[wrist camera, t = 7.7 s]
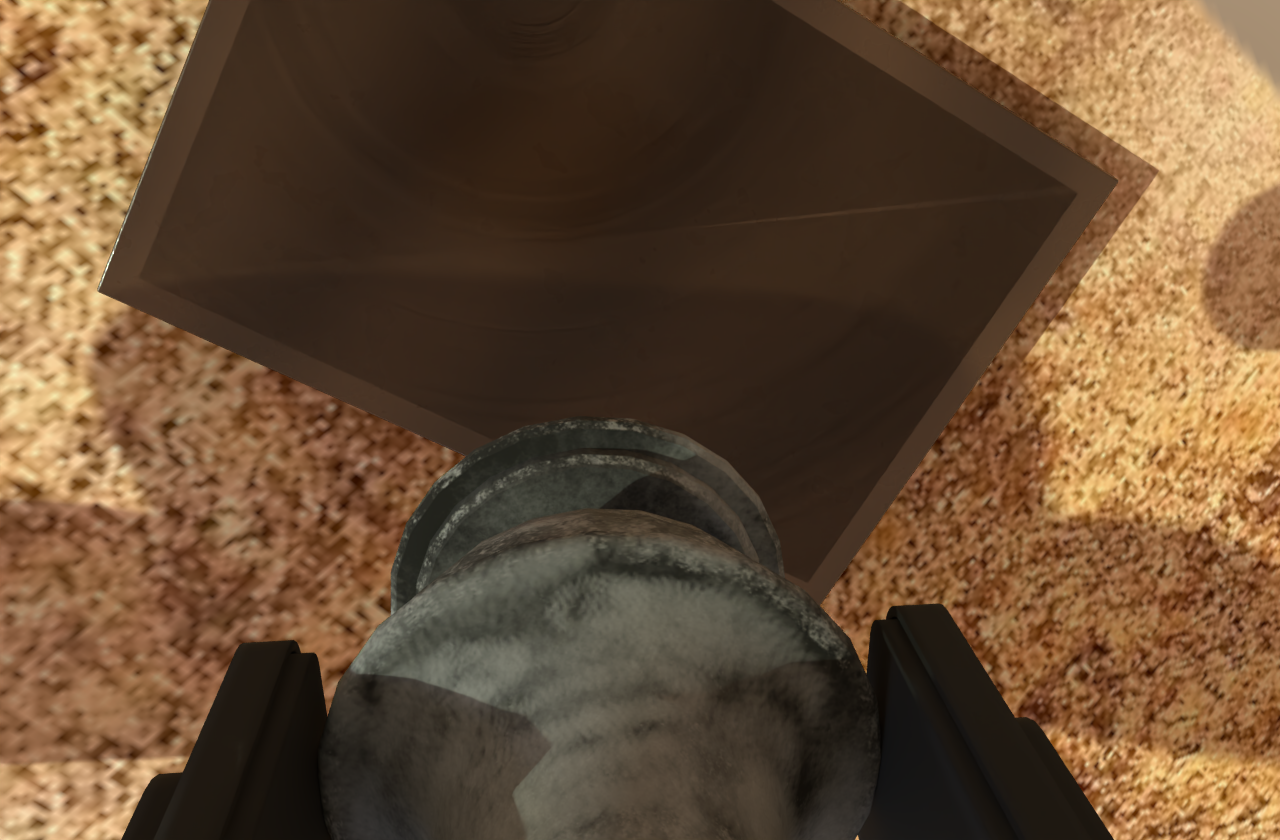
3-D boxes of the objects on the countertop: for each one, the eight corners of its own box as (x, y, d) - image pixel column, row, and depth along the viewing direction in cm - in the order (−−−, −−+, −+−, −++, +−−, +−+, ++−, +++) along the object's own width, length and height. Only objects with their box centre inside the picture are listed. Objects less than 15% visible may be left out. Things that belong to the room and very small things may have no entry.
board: (116, 275, 28) (95, 291, 27) (345, -307, 23) (334, -323, 22) (804, 587, 34) (815, 613, 33) (1092, 170, 29) (1120, 180, 28)
